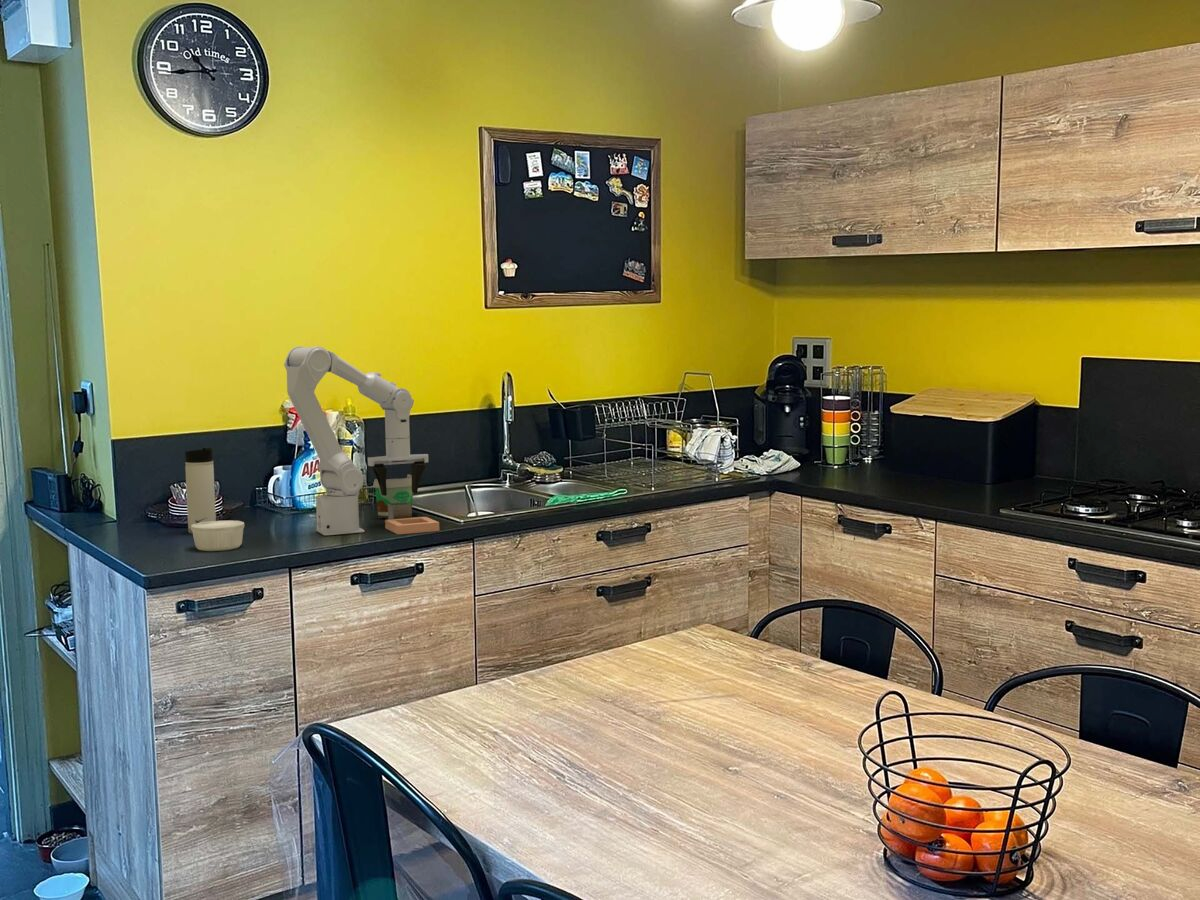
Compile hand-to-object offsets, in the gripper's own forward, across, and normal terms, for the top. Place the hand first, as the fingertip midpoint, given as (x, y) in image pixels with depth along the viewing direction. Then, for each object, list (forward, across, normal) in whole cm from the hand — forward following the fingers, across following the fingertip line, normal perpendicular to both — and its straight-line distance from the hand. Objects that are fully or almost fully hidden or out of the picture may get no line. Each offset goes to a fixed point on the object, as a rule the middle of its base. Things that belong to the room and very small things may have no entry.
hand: (399, 493), depth 287 cm
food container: (+8, -4, -11) cm, 14 cm away
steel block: (+7, 0, 0) cm, 7 cm away
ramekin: (+8, +44, +10) cm, 46 cm away
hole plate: (+7, 0, +10) cm, 12 cm away
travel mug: (+7, +44, -12) cm, 46 cm away
